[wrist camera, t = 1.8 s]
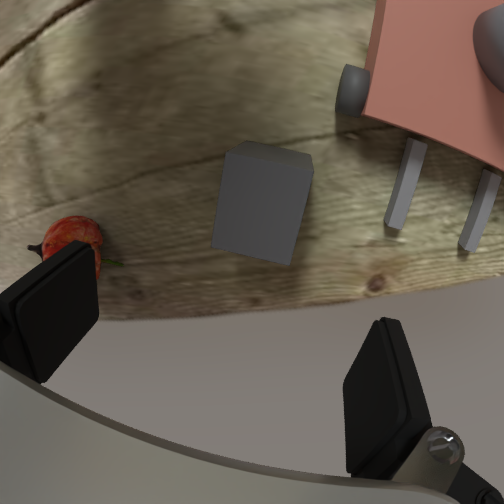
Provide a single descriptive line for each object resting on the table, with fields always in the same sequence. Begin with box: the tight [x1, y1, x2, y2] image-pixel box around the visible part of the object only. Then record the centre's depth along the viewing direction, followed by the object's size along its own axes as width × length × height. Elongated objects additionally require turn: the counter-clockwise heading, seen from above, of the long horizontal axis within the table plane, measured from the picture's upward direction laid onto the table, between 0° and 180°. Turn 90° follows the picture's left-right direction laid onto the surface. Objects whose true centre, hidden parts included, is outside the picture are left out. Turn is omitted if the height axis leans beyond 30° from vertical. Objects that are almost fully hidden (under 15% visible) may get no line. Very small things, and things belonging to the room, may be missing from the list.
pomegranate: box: [27, 216, 123, 280], centre depth 27 cm, size 7×7×10 cm
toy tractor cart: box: [335, 0, 504, 253], centre depth 15 cm, size 24×21×9 cm
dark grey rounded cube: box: [211, 141, 314, 266], centre depth 22 cm, size 6×5×7 cm
